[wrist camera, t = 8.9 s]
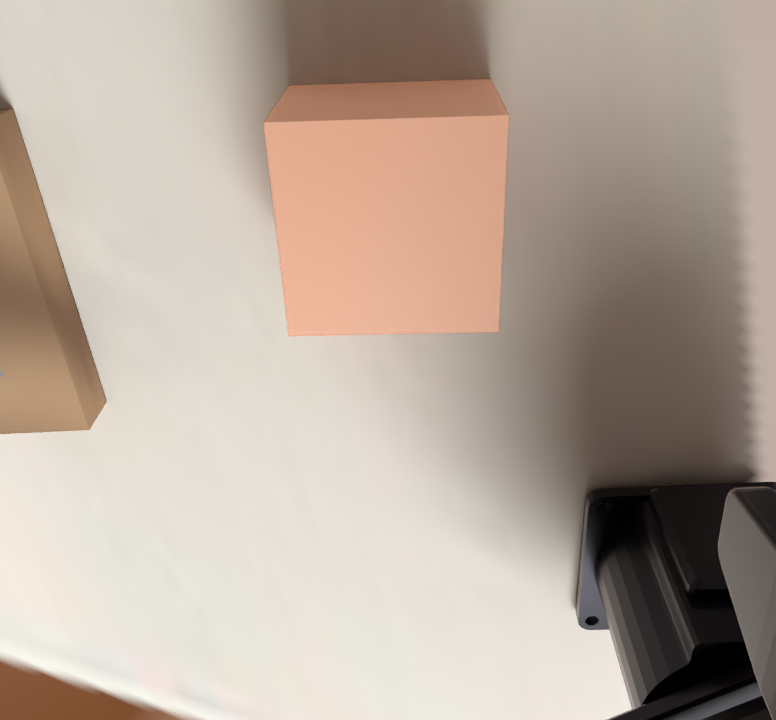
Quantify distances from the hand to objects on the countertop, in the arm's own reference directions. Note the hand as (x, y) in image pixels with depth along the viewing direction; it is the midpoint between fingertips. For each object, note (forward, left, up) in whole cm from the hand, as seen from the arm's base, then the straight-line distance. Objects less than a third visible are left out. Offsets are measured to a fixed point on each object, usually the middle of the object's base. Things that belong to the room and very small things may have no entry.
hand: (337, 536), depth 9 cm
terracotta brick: (0, 0, -13) cm, 13 cm away
